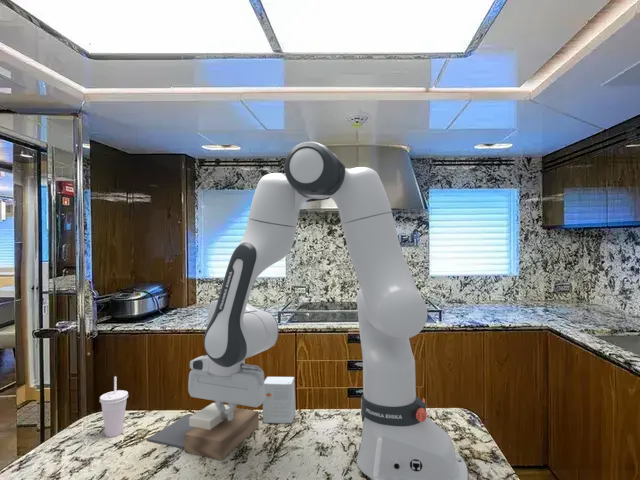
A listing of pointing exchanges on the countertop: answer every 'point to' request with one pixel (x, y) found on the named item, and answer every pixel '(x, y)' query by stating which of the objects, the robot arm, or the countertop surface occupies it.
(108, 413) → the smoothie
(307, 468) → the countertop surface
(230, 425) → the brown wooden block
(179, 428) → the mat
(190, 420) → the tile
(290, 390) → the small box
